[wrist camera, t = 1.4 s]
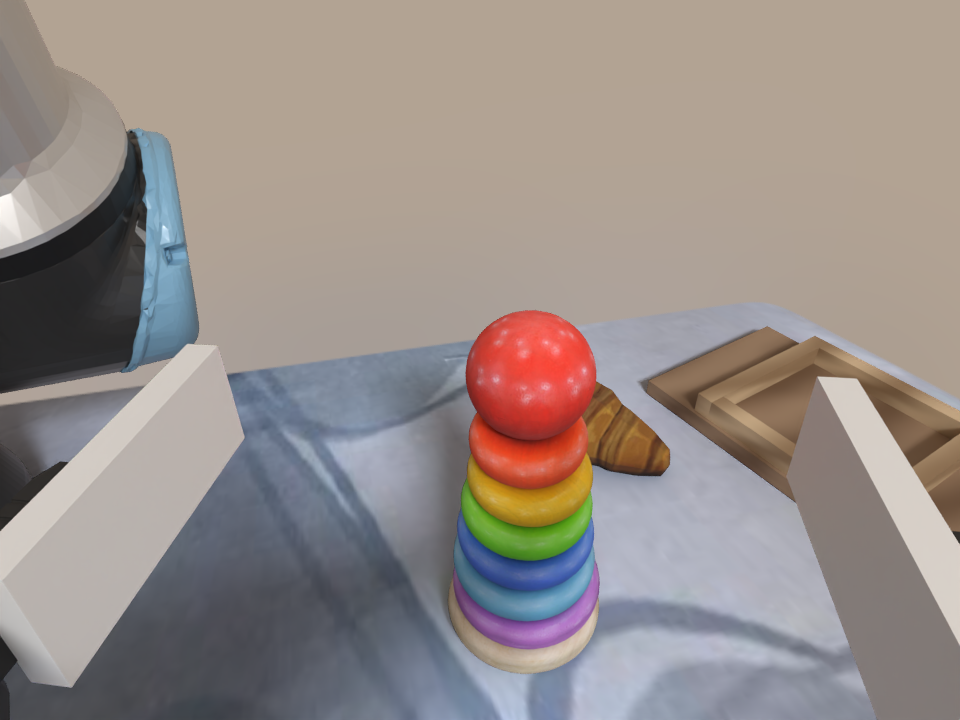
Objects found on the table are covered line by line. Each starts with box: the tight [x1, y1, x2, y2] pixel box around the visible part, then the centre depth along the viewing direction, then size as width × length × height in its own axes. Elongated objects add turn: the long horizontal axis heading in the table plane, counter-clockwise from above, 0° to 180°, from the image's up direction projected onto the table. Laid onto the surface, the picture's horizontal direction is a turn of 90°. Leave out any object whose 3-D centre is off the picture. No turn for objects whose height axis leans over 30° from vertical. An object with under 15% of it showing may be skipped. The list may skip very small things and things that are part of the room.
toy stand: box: [646, 326, 960, 532], centre depth 45 cm, size 22×14×3 cm, turn 33°
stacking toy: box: [448, 311, 600, 674], centre depth 30 cm, size 8×8×19 cm
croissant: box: [582, 382, 670, 476], centre depth 44 cm, size 14×7×5 cm, turn 60°
